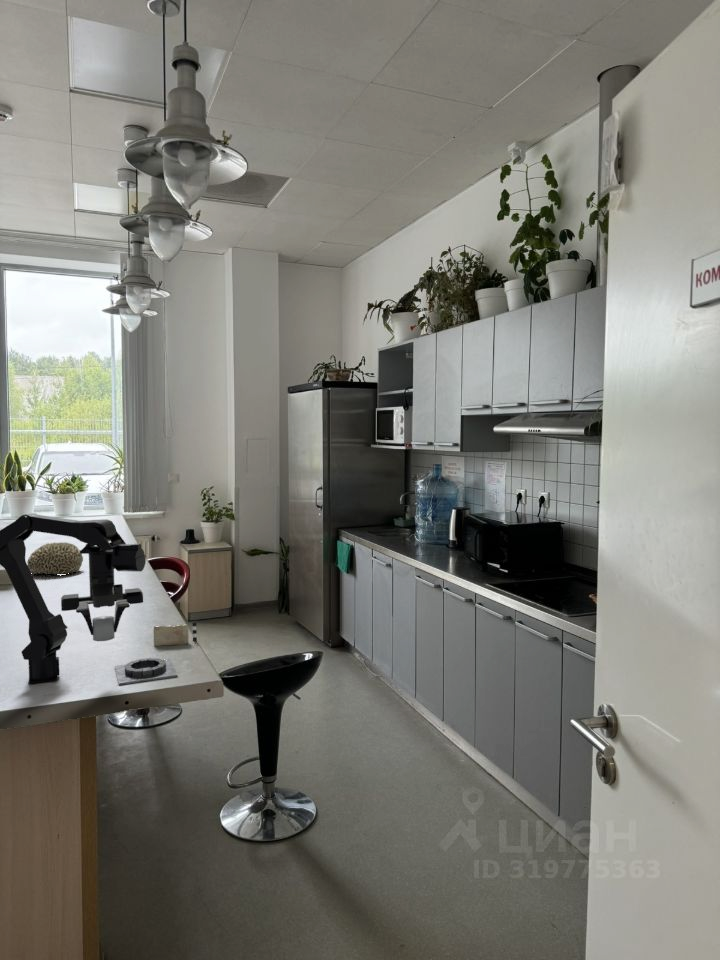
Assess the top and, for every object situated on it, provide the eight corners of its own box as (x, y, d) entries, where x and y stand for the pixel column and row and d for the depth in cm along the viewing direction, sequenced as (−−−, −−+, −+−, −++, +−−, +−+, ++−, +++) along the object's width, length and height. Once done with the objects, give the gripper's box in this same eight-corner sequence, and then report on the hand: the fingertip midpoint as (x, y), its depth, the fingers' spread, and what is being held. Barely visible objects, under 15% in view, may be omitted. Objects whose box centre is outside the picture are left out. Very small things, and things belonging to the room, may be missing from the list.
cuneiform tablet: (196, 621, 199) (154, 624, 197) (195, 624, 195) (153, 627, 193) (196, 641, 199) (155, 643, 197) (196, 644, 195) (153, 647, 193)
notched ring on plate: (118, 685, 163) (118, 677, 163) (114, 667, 176) (114, 660, 175) (177, 676, 168) (177, 669, 168) (169, 660, 181) (169, 653, 181)
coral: (31, 583, 290) (28, 550, 288) (27, 573, 305) (24, 542, 303) (87, 575, 302) (84, 542, 300) (80, 566, 317) (78, 535, 315)
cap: (93, 642, 162) (92, 621, 162) (92, 636, 167) (91, 616, 166) (115, 639, 164) (114, 618, 164) (113, 634, 169) (113, 614, 168)
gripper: (60, 580, 153) (62, 647, 154) (144, 573, 161) (146, 637, 162) (60, 572, 164) (62, 634, 164) (139, 565, 171) (141, 625, 172)
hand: (103, 633), depth 165 cm, fingers closed on cap, 5 cm apart
